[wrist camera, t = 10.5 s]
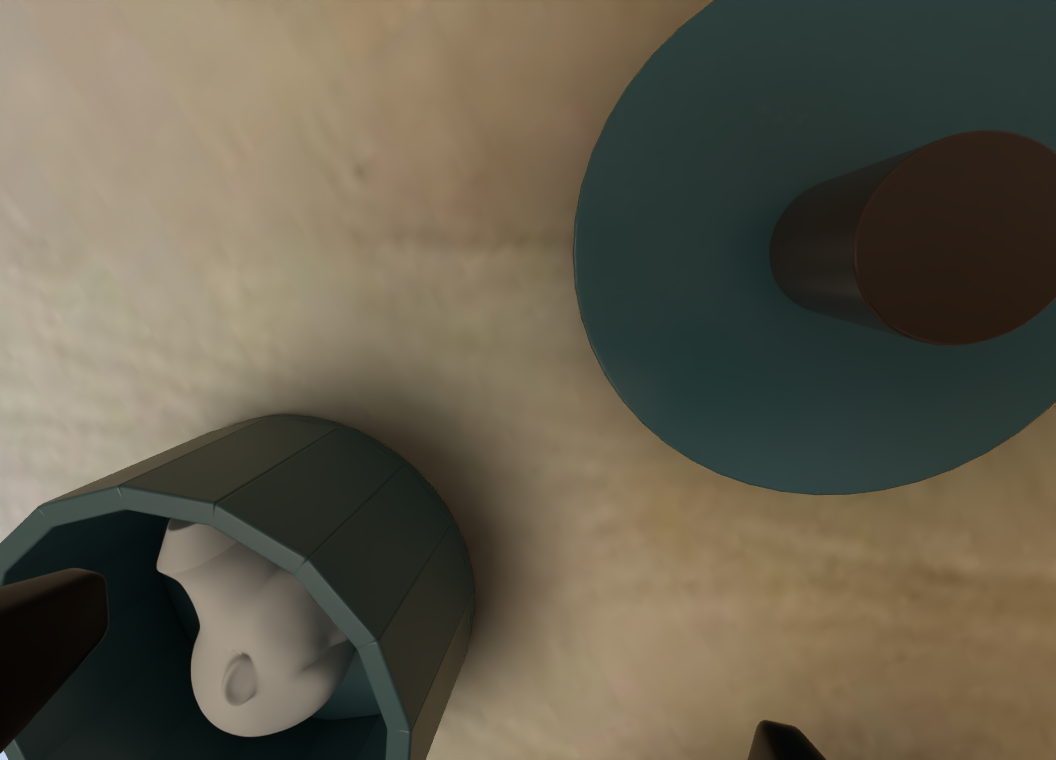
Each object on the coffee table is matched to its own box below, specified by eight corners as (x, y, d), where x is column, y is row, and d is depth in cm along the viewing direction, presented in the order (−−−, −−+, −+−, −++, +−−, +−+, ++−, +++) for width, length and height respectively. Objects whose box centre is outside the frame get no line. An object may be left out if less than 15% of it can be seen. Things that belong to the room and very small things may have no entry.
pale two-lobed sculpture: (380, 653, 20) (233, 677, 19) (350, 448, 18) (186, 466, 18) (364, 757, 16) (176, 791, 15) (323, 505, 14) (107, 532, 13)
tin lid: (1217, 289, 13) (1720, 317, 7) (751, 557, 16) (827, 729, 10) (916, -169, 12) (1204, -578, 6) (484, 213, 15) (401, 186, 9)
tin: (546, 624, 18) (512, 798, 12) (307, 768, 21) (190, 962, 15) (314, 342, 17) (160, 386, 11) (100, 535, 20) (-108, 646, 14)
